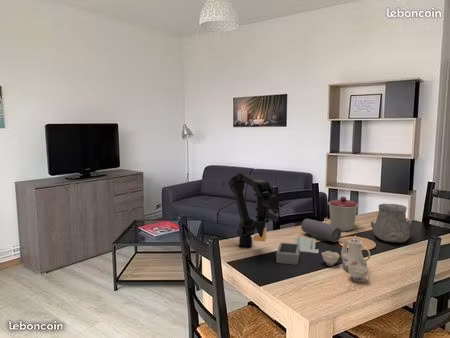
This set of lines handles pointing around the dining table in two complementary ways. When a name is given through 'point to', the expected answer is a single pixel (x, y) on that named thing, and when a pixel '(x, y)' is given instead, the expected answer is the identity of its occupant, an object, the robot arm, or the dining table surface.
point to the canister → (343, 213)
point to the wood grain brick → (258, 238)
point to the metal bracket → (306, 244)
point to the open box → (288, 253)
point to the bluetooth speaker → (321, 230)
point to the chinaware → (350, 258)
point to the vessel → (392, 223)
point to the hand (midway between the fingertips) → (262, 235)
